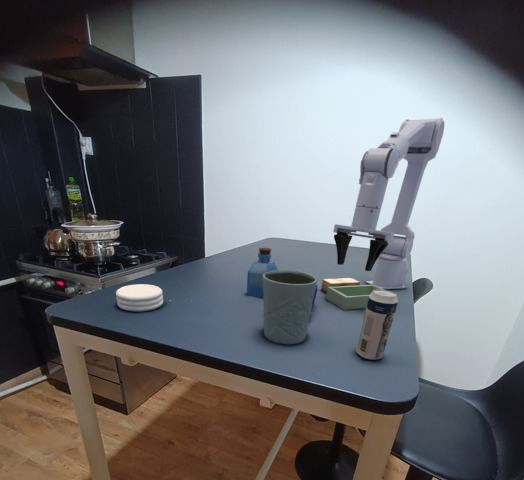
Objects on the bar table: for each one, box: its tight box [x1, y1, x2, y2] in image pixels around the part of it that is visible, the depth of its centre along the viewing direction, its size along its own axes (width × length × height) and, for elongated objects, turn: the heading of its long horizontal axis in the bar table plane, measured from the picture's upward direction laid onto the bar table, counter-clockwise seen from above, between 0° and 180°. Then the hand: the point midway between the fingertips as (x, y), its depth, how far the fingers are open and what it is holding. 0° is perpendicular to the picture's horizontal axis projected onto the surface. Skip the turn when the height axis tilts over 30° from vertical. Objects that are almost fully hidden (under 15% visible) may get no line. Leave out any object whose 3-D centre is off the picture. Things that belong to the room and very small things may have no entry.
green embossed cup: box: [262, 269, 318, 345], centre depth 62 cm, size 10×10×12 cm
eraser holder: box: [325, 284, 384, 311], centre depth 85 cm, size 15×9×3 cm, turn 112°
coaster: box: [115, 283, 164, 313], centre depth 73 cm, size 10×10×4 cm
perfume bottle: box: [246, 247, 279, 299], centre depth 84 cm, size 6×6×12 cm
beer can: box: [355, 289, 399, 361], centre depth 56 cm, size 5×5×12 cm
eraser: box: [320, 277, 361, 295], centre depth 92 cm, size 10×4×3 cm, turn 112°
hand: (353, 267), depth 79 cm, fingers open, 7 cm apart
